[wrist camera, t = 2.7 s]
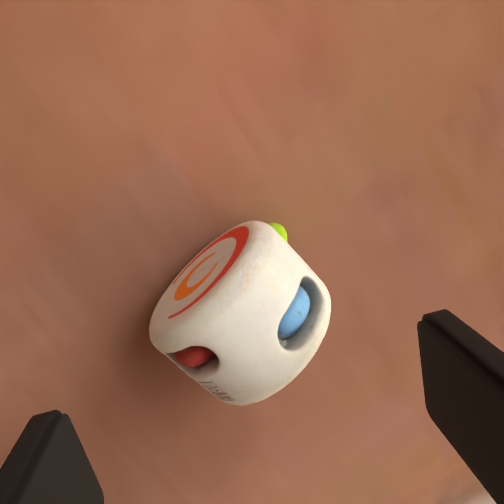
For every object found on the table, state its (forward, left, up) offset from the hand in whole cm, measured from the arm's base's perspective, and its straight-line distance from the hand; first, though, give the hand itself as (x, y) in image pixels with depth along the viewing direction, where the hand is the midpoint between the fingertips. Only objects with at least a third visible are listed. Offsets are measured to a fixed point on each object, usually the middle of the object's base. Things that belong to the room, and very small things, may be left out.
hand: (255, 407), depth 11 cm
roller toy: (-1, 0, -8) cm, 8 cm away
